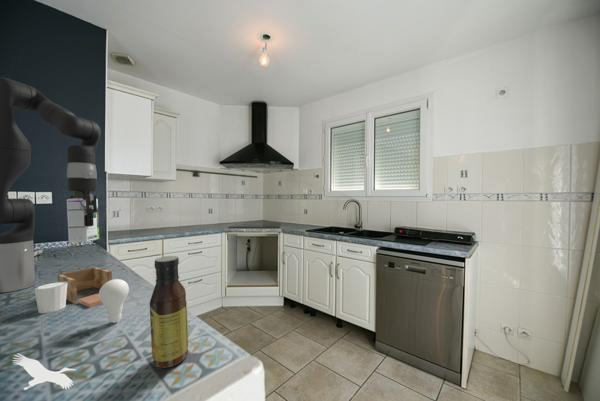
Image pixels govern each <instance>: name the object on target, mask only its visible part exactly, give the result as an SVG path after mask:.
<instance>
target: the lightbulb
mask: <svg viewBox="0 0 600 401" xmlns="http://www.w3.org/2000/svg"><path fill="white" fill-rule="evenodd" d="M98 291H99V292H98V293H99V298H100V300H101V301H102V303H103V304H102V305H104V306H105V309H106V313H107V315H108V322H110V323H113V324H116V323H118V322H119V321H121V319H122V313H123V312H122V311H123V308H124V302H125V300H126V298H127V297H128V295H129V291H130V286H129V284H128V283H127V281H125V280H123V279H120V278H119V279H118V278H114V279H112V280H110V281H108V282H106V283H105V284H104V285H103V286H102V287H101V289H99V290H98Z"/></svg>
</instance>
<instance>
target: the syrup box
mask: <svg viewBox="0 0 600 401" xmlns="http://www.w3.org/2000/svg"><path fill="white" fill-rule="evenodd" d="M78 200H79V201H78ZM80 202H81V203H82V204H83V205H84V206H86V201H85V200H83V198H72V199H70V198H67V199H66V208H67V209H66V211H67V212H66V214H67V230H68V231H67V232H68V234H67V236H68V243H88V242H92V241H96V240H100V224H99V222H100V221H99V219H100V218H99V201H98V198H97V197H96V202H97V212H96V213H94V214H93V226H84V213H83V210H81V209H80Z"/></svg>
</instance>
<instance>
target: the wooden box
mask: <svg viewBox="0 0 600 401" xmlns="http://www.w3.org/2000/svg"><path fill="white" fill-rule="evenodd" d="M110 280H113V274H112V271H111V270H107V269H104V268H99V267H96V266H94V267H89V268H84V269H79V270H74V271H70V272H65V273H60V274H57V282H67V283H68V284H67V296H66V301H68V302H70V303H72V304H76V303H78V294H77V293H78V292H80V291H83V290H88V289H91V288H96V289H99V290H100V289H101V287H102V286H103V285H104V284H105V283H106V282H108V281H110Z"/></svg>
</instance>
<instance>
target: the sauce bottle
mask: <svg viewBox="0 0 600 401" xmlns="http://www.w3.org/2000/svg"><path fill="white" fill-rule="evenodd" d="M179 261H180V260H179V257H178V256H177V255H169V256H168V255H167V256H162V257H159V258H158V257H157V258H156V259H154V269H155V276H156V277H155V278H156V279H155V285H154V288H153V292H152V294H151V297H150V300H149V317H150V318H149V319H150V321H149V322H150V341H151V342H150V343H151V357H152V359H153V360H152V361H153V362H152V363H153V365H154V367H155V368H160V369H169V368H172V367H175V366H177V365H179V364H180V363H182V362H183V361H184V360H185V359H186V358H187V356H188V353H189V349H188V348H189V327H188V326H189V324H188V322H189V320H188V304H187V297H186V296H187V294H186V288H185V287H184V286H183V284H182V282H180V281H181V280H179V279H180V275H179V263H180V262H179Z"/></svg>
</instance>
